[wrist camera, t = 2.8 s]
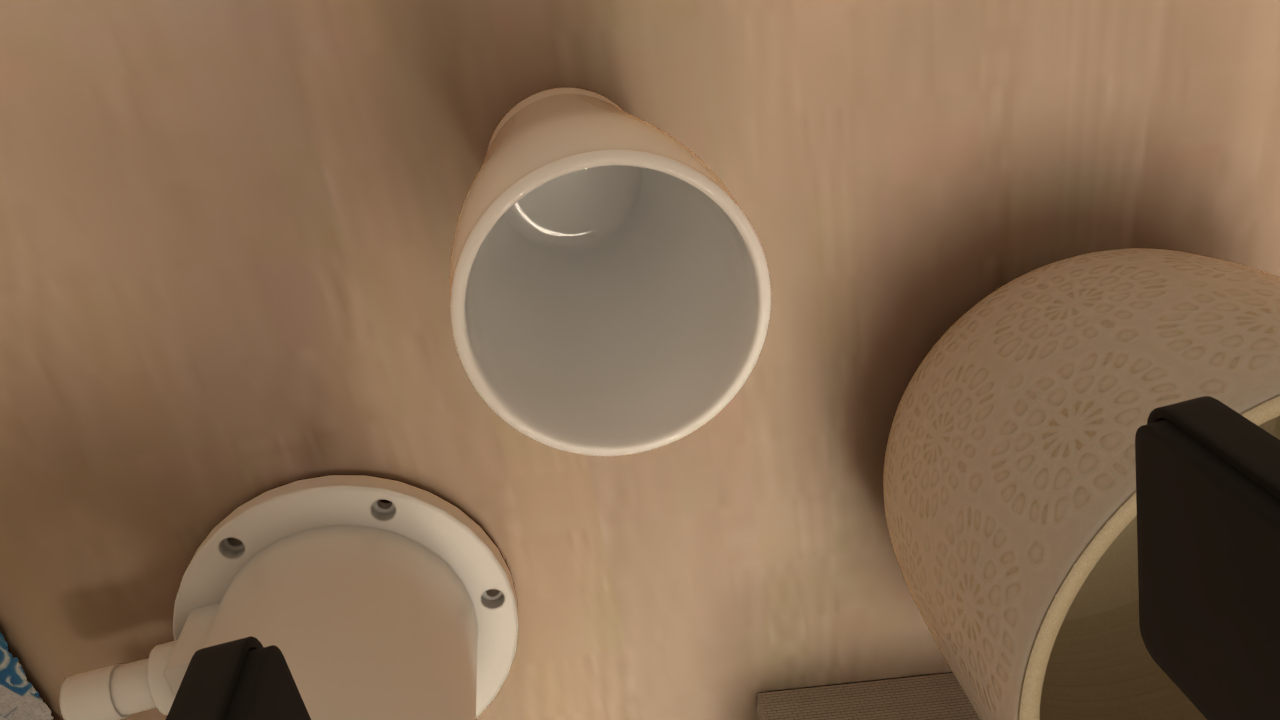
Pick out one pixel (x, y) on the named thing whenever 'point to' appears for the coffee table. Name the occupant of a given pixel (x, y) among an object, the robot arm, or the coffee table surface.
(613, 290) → the drinking glass
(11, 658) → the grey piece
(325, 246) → the coffee table surface
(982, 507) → the planter
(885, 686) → the house
